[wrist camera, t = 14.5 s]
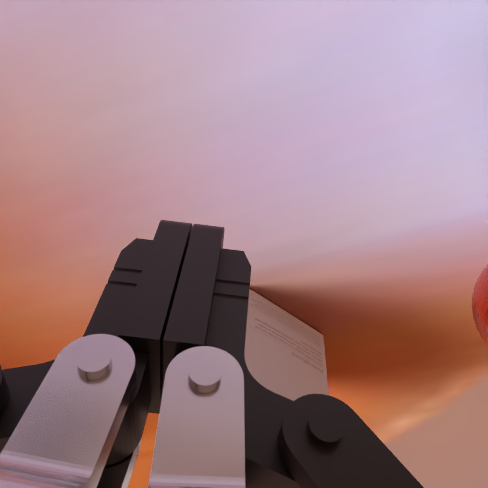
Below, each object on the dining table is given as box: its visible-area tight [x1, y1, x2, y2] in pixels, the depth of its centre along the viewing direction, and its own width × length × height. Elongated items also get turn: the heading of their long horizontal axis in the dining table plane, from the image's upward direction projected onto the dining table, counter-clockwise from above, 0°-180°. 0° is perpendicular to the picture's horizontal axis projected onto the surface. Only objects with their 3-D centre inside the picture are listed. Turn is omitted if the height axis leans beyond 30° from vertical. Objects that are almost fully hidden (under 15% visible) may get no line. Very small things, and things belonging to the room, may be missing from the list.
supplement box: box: [244, 289, 329, 401], centre depth 28 cm, size 7×7×13 cm
